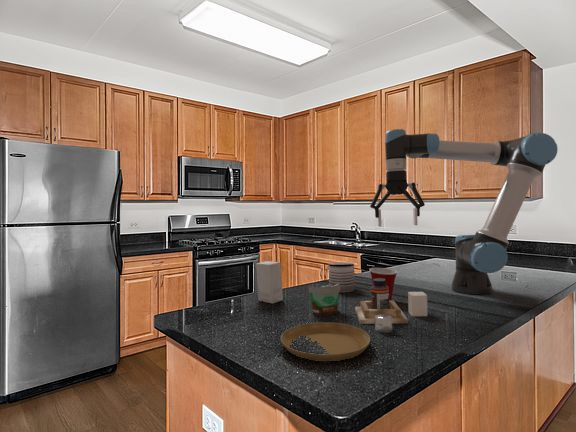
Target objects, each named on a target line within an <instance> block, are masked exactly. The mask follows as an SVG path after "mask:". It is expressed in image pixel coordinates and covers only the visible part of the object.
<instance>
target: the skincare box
mask: <svg viewBox="0 0 576 432" xmlns="http://www.w3.org/2000/svg"><path fill="white" fill-rule="evenodd" d="M255 268H256V282H257V295H258V301H259V302H262V301H263V302H264V303H267V304H268V303H269V304H276V303H278V302H281V301H283V300H284V297H283V285H282V284H283V281H282V269H281V262H280V261H269V260H267V261H266V260H265V261H262V262H257V263H255Z"/></svg>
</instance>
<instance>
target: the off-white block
mask: <svg viewBox="0 0 576 432" xmlns="http://www.w3.org/2000/svg"><path fill="white" fill-rule="evenodd" d="M407 298H408V299H407V301H408V302H407V303H408V305H407V307H408V308H407V309H408V313H409V315H410V316H411V317H428V295H427V293H425V292H424V291H408V292H407Z"/></svg>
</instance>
